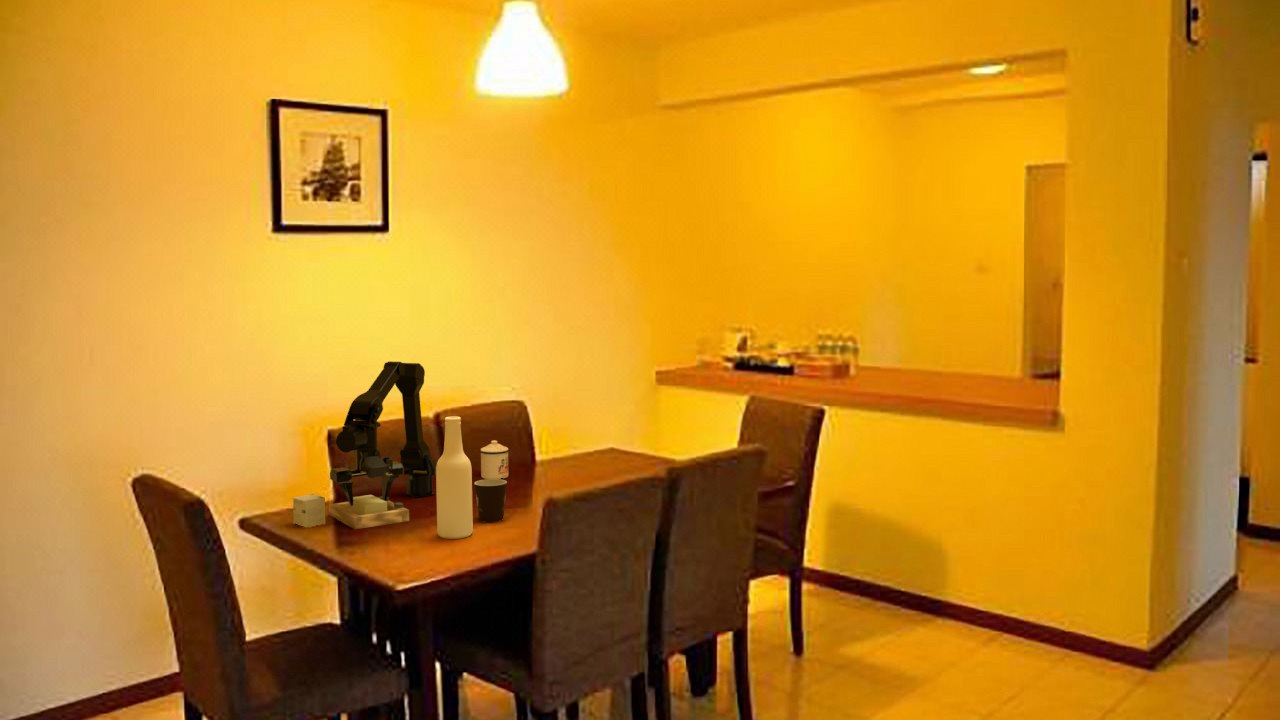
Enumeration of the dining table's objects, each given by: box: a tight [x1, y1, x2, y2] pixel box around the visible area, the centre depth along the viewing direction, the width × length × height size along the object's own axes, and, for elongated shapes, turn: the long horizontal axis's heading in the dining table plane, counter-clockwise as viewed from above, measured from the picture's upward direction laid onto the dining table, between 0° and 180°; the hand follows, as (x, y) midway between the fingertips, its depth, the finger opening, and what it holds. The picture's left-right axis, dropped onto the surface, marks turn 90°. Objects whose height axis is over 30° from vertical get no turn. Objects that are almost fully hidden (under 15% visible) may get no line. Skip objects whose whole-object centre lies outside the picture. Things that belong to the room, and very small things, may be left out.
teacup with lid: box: [479, 439, 510, 480], centre depth 342 cm, size 12×9×12 cm
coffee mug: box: [473, 479, 508, 523], centre depth 286 cm, size 12×9×10 cm
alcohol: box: [435, 415, 474, 540], centre depth 268 cm, size 9×9×30 cm
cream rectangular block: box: [351, 494, 387, 515], centre depth 287 cm, size 6×11×4 cm, turn 35°
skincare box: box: [292, 493, 326, 528], centre depth 281 cm, size 6×6×7 cm
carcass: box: [328, 496, 410, 530], centre depth 287 cm, size 15×19×4 cm
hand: (368, 503), depth 287 cm, fingers open, 9 cm apart
